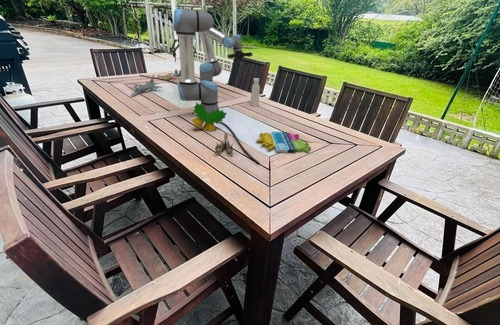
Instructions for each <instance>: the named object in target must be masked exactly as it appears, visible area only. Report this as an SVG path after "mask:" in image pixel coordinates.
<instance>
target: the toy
mask: <svg viewBox="0 0 500 325" xmlns="http://www.w3.org/2000/svg"><path fill="white" fill-rule="evenodd" d="M156 76H157V78H162V79H165V80H169V81H170V80H171V79H173V80H178V81H179V80H180V79H181V69H180V70H179V72H178V70H177V69H175V70H174V73H172V72H169V73H168V74H165V75H161V74H158V75H156ZM177 76H178V77H177ZM165 80H164V81H165Z"/></svg>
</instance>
